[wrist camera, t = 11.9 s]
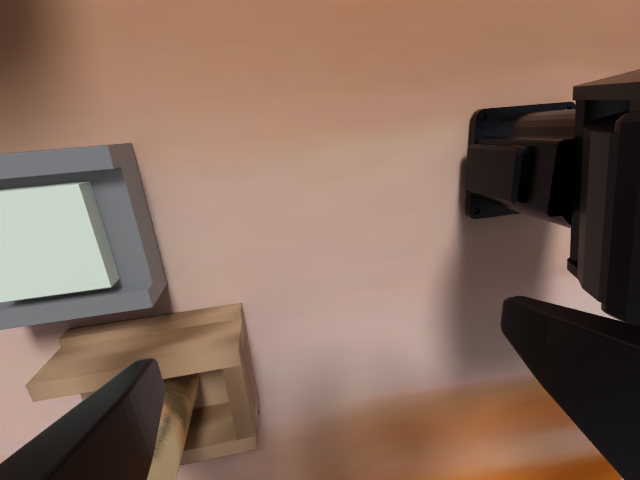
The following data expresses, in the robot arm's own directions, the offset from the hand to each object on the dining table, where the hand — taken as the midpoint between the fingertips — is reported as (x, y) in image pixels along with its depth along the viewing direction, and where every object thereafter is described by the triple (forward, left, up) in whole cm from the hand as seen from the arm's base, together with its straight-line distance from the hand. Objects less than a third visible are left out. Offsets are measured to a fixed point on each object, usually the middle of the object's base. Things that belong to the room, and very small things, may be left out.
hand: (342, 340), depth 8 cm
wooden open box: (+9, +9, -12) cm, 17 cm away
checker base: (+12, -1, -12) cm, 17 cm away
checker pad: (+12, -1, -10) cm, 16 cm away
